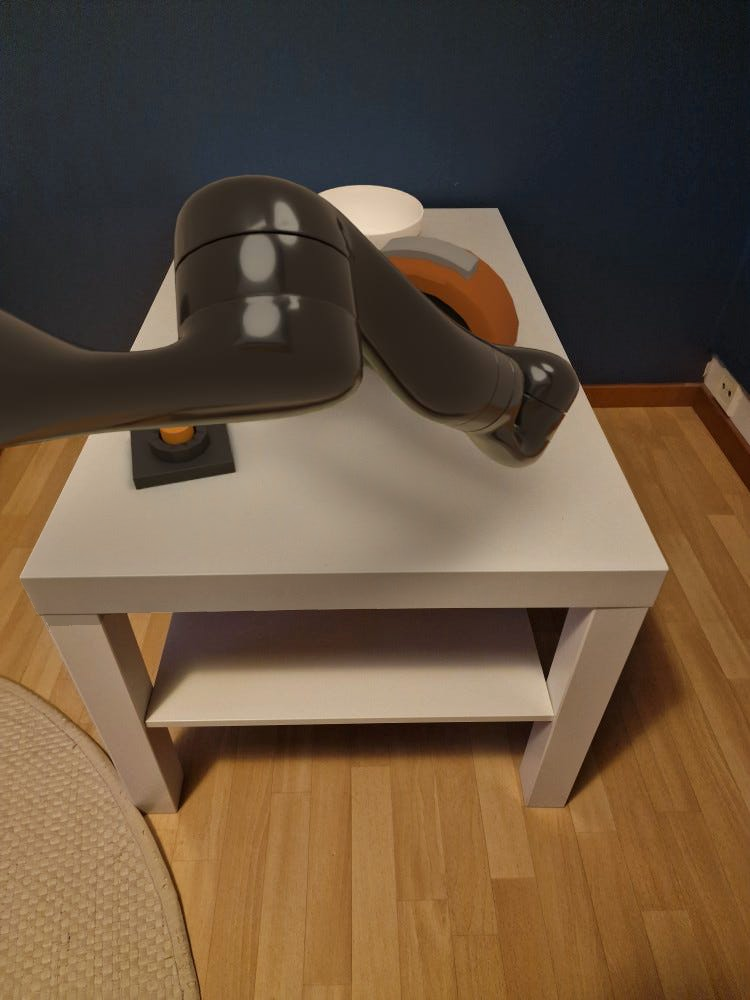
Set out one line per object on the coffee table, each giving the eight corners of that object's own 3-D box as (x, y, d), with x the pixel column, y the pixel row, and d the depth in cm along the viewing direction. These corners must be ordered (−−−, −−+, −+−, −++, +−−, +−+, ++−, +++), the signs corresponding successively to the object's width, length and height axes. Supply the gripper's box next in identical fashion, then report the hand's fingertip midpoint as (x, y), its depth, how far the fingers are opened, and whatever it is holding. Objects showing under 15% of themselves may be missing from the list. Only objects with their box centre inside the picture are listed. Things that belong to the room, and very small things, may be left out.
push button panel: (136, 489, 76) (128, 466, 74) (133, 438, 82) (126, 415, 80) (235, 472, 78) (231, 449, 76) (225, 423, 84) (221, 400, 82)
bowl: (411, 233, 122) (413, 183, 115) (429, 286, 109) (433, 232, 102) (304, 238, 120) (301, 186, 114) (310, 292, 107) (306, 237, 101)
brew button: (163, 447, 76) (159, 435, 75) (160, 427, 79) (157, 415, 78) (195, 441, 77) (192, 429, 76) (192, 422, 80) (189, 410, 78)
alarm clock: (330, 357, 95) (325, 239, 83) (357, 325, 100) (357, 211, 88) (493, 401, 88) (514, 281, 76) (513, 365, 94) (535, 247, 82)
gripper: (437, 276, 69) (327, 225, 77) (335, 328, 62) (225, 266, 70) (431, 340, 75) (329, 286, 83) (337, 395, 68) (234, 331, 75)
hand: (281, 277), depth 76 cm, fingers open, 8 cm apart
